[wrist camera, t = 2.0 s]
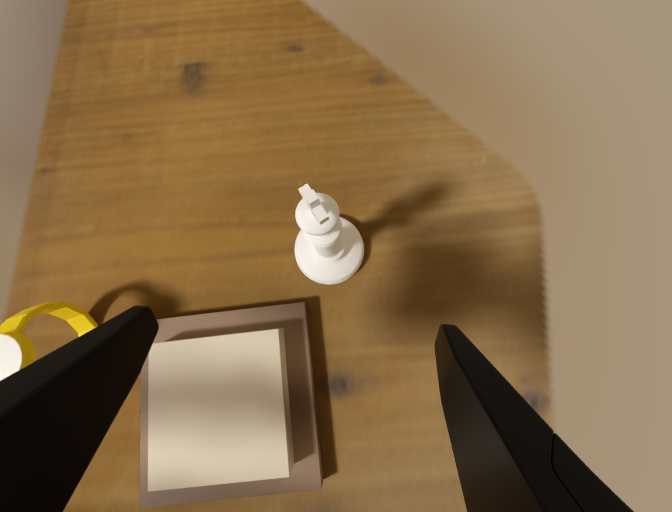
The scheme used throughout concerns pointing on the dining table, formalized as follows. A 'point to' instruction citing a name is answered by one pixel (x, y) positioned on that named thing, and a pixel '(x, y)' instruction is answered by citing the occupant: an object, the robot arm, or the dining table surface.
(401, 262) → the dining table surface
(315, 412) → the build base
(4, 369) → the watch
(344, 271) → the chess piece
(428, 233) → the dining table surface
